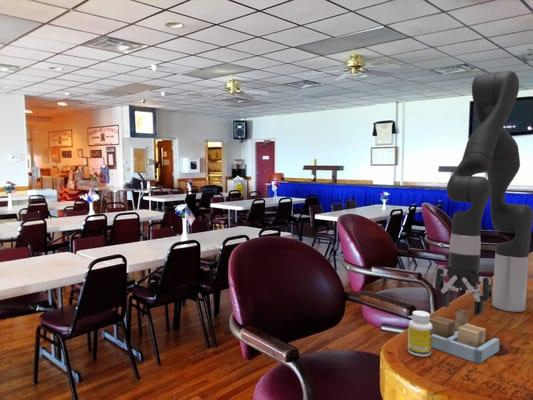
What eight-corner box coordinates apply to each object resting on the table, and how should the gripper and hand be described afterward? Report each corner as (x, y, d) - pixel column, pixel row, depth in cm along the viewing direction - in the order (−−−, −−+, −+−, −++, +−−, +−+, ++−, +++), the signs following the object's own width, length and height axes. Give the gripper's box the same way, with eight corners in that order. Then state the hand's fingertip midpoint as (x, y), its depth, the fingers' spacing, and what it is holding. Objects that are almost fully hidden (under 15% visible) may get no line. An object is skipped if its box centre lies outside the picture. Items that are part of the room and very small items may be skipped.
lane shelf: (438, 331, 119) (439, 321, 119) (498, 351, 107) (499, 339, 107) (416, 342, 112) (417, 330, 112) (478, 364, 100) (479, 351, 100)
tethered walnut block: (455, 329, 121) (456, 308, 121) (471, 334, 118) (472, 312, 117) (428, 342, 112) (429, 319, 112) (446, 348, 109) (447, 324, 108)
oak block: (465, 346, 110) (466, 323, 109) (484, 352, 106) (485, 328, 106) (456, 351, 107) (457, 327, 106) (475, 358, 103) (477, 333, 103)
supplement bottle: (433, 358, 103) (434, 317, 102) (409, 356, 104) (410, 316, 103) (429, 348, 108) (431, 310, 107) (406, 346, 109) (407, 308, 108)
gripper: (498, 253, 113) (494, 314, 115) (446, 245, 124) (442, 301, 125) (486, 257, 109) (482, 320, 110) (432, 248, 119) (429, 306, 121)
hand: (461, 310), depth 118 cm, fingers open, 8 cm apart
